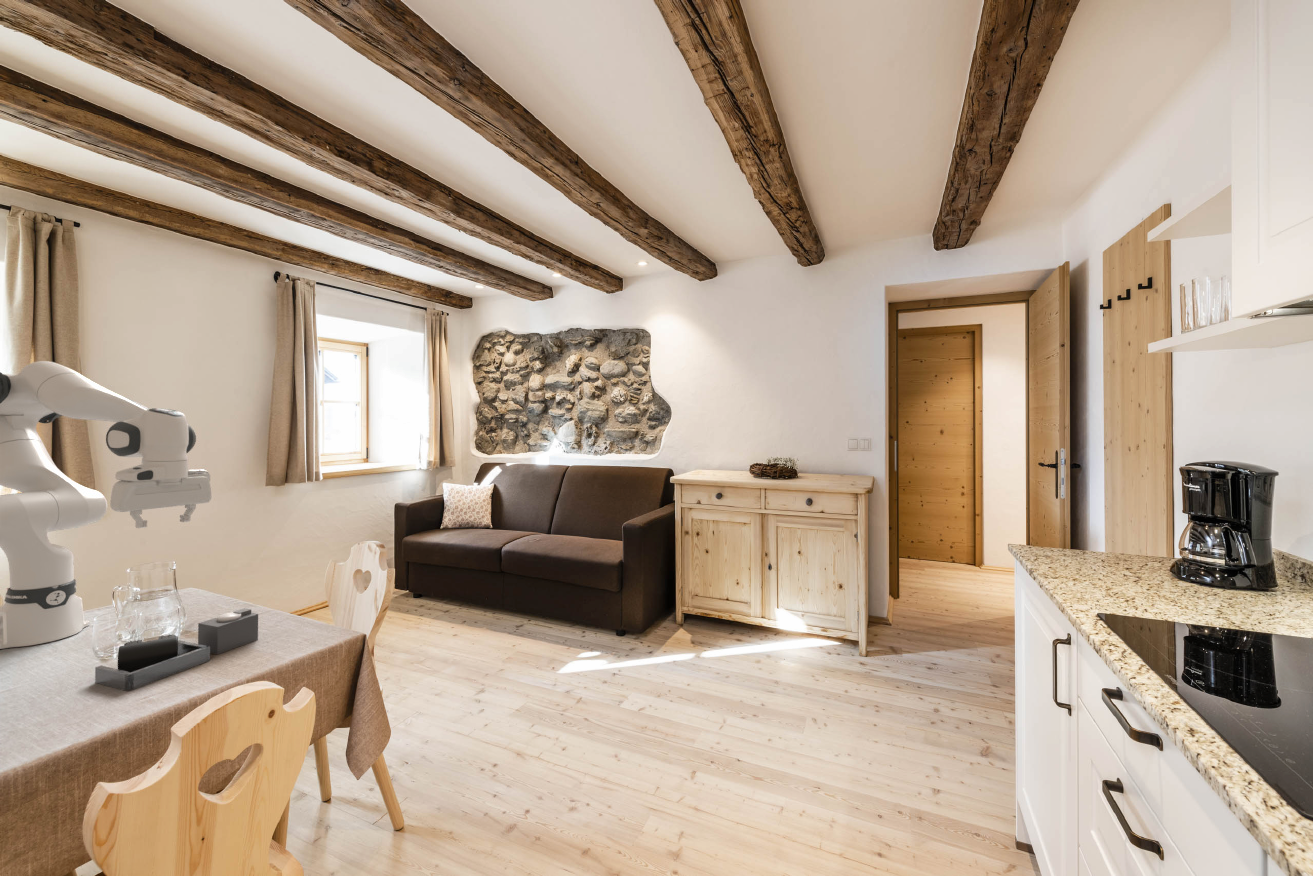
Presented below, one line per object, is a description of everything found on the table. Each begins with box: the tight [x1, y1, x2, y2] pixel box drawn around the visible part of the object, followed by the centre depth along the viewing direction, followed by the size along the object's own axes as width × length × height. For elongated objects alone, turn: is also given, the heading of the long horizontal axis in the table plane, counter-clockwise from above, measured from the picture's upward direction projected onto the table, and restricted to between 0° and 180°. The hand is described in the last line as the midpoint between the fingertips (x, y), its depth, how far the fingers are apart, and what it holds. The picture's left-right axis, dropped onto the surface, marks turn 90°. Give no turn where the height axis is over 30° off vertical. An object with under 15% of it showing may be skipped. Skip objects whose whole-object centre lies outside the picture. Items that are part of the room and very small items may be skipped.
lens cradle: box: [94, 639, 211, 692], centre depth 122 cm, size 11×16×4 cm
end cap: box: [117, 634, 179, 672], centre depth 124 cm, size 10×7×7 cm
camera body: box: [197, 607, 259, 655], centre depth 138 cm, size 7×10×8 cm
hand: (163, 524), depth 136 cm, fingers open, 8 cm apart
